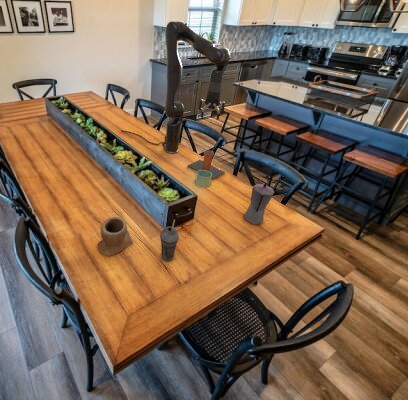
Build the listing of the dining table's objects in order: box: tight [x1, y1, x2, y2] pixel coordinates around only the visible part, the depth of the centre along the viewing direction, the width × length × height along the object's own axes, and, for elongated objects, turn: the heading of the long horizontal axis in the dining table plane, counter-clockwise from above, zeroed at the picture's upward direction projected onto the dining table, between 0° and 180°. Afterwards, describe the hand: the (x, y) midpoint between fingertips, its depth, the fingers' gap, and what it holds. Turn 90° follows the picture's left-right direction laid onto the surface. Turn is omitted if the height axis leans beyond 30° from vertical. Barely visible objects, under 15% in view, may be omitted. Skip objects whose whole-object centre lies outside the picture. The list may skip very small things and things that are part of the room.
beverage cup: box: [159, 219, 180, 262], centre depth 104 cm, size 7×7×20 cm
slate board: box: [187, 159, 226, 181], centre depth 167 cm, size 20×12×2 cm, turn 44°
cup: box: [194, 170, 212, 188], centre depth 154 cm, size 9×9×6 cm
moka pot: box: [243, 183, 275, 225], centre depth 126 cm, size 10×15×20 cm, turn 161°
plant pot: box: [202, 149, 215, 171], centre depth 163 cm, size 6×6×11 cm
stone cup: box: [96, 216, 133, 257], centre depth 108 cm, size 15×12×15 cm
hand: (209, 118), depth 157 cm, fingers open, 8 cm apart
